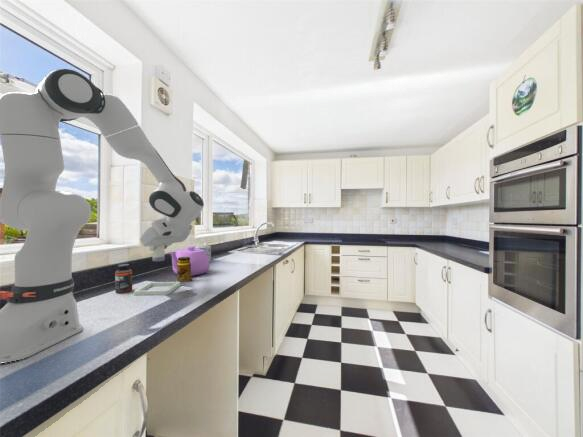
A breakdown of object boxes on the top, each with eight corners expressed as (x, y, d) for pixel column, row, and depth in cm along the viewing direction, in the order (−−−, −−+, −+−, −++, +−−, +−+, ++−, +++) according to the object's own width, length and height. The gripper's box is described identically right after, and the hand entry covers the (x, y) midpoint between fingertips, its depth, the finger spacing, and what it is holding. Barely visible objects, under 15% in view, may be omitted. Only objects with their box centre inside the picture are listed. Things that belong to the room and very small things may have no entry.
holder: (198, 297, 98) (198, 294, 98) (175, 303, 91) (175, 300, 91) (187, 292, 103) (187, 289, 103) (165, 297, 97) (165, 295, 97)
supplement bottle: (129, 288, 108) (129, 262, 108) (134, 291, 104) (134, 264, 104) (113, 291, 104) (113, 264, 103) (117, 294, 100) (117, 266, 100)
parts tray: (167, 297, 97) (167, 290, 97) (133, 297, 96) (133, 291, 96) (180, 287, 110) (180, 281, 110) (150, 287, 109) (150, 282, 109)
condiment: (176, 284, 114) (176, 259, 114) (176, 280, 122) (176, 256, 122) (193, 283, 117) (193, 258, 117) (192, 278, 125) (192, 255, 125)
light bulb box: (204, 260, 172) (204, 245, 172) (211, 261, 169) (211, 245, 169) (191, 263, 163) (191, 247, 163) (199, 264, 160) (199, 247, 159)
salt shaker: (164, 261, 102) (164, 236, 101) (151, 261, 100) (151, 237, 100) (165, 259, 106) (164, 235, 106) (153, 259, 104) (153, 236, 104)
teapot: (188, 268, 148) (188, 243, 148) (214, 272, 138) (214, 245, 138) (151, 276, 128) (151, 248, 127) (179, 282, 118) (179, 251, 118)
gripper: (190, 219, 110) (173, 240, 113) (149, 220, 91) (130, 245, 94) (198, 230, 108) (180, 250, 112) (157, 233, 89) (138, 258, 93)
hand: (157, 248), depth 103 cm, fingers closed on salt shaker, 4 cm apart
